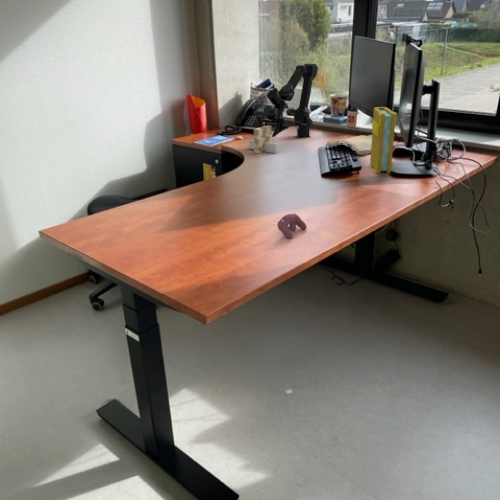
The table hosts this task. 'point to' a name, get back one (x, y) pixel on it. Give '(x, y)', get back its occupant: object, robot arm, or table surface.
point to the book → (382, 139)
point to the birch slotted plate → (262, 137)
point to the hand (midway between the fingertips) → (265, 135)
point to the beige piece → (357, 143)
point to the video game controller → (290, 224)
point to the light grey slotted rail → (266, 146)
